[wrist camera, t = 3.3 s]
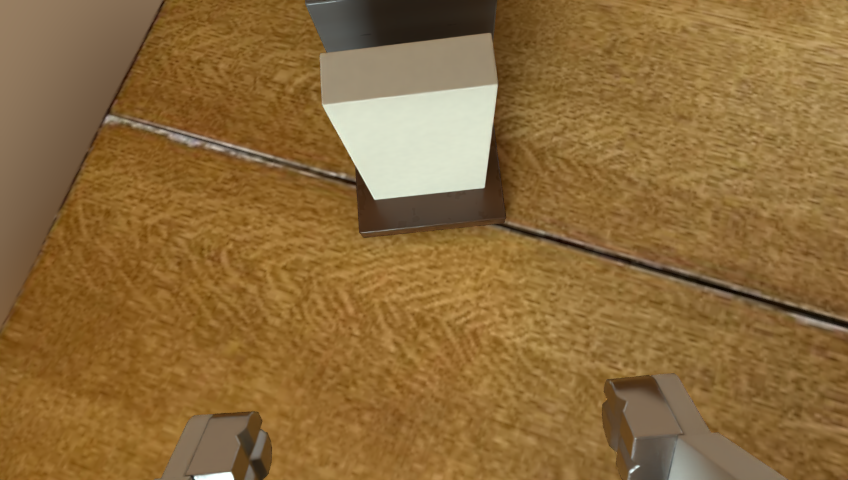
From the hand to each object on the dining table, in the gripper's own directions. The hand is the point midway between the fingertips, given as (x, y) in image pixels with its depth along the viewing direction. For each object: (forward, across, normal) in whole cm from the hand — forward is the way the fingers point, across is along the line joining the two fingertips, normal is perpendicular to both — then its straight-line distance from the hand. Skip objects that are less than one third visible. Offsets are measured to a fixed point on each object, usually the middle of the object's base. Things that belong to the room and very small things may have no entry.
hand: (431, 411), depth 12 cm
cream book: (+19, 0, +3) cm, 20 cm away
